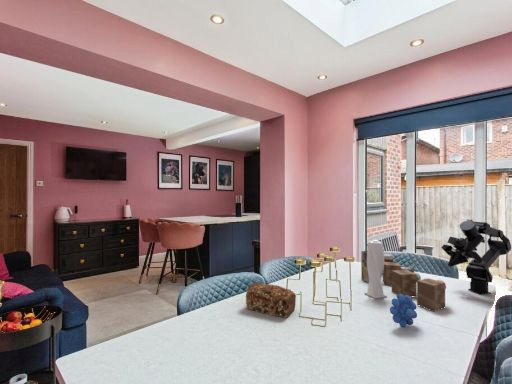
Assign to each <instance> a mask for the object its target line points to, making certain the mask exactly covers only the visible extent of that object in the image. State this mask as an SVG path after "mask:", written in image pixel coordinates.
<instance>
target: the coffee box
mask: <svg viewBox="0 0 512 384" xmlns="http://www.w3.org/2000/svg"><path fill="white" fill-rule="evenodd" d="M367 251H368V250H363V251H362V250H361V251H360V252H361V253H360V255H361V259H360V260H361V261H360V262H361V265H360V267H361V271H360V272H361V280H362V281H363V282H366V283H368V284H369V280H370V279H369V275H368V269H367Z"/></svg>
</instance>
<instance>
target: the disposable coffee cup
mask: <svg viewBox="0 0 512 384" xmlns="http://www.w3.org/2000/svg"><path fill="white" fill-rule="evenodd" d="M394 259H395V255H394V254H393V253H392V254H391V253H387V252H384V262H393V263H394ZM382 276H383V274H382Z"/></svg>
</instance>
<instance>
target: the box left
mask: <svg viewBox="0 0 512 384" xmlns="http://www.w3.org/2000/svg"><path fill="white" fill-rule="evenodd" d="M401 267H402V265H401V263H399V262H394V261H393V262H384V269H383V275H382V282H383V285H384V286H392V270H401Z"/></svg>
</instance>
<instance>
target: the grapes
mask: <svg viewBox="0 0 512 384" xmlns="http://www.w3.org/2000/svg"><path fill="white" fill-rule="evenodd" d="M390 303H391V305H392V306H390V308H389V313H390V314H391V315H392V321H393V322H394V323H395V324H398V325H399V326H400V327H402V328H406V327H407V326H412V325H413V324H414V320H413V319H417V317H418V314H417V311H416V310H417V308H418V307H417V306H418V305H417V304H416V303H415V302H414V301H413V299H412V297H410V296H408V295H406V296H404V295H402V294H398V295H396V298H395V297H394V298H392V299H391V302H390Z"/></svg>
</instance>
